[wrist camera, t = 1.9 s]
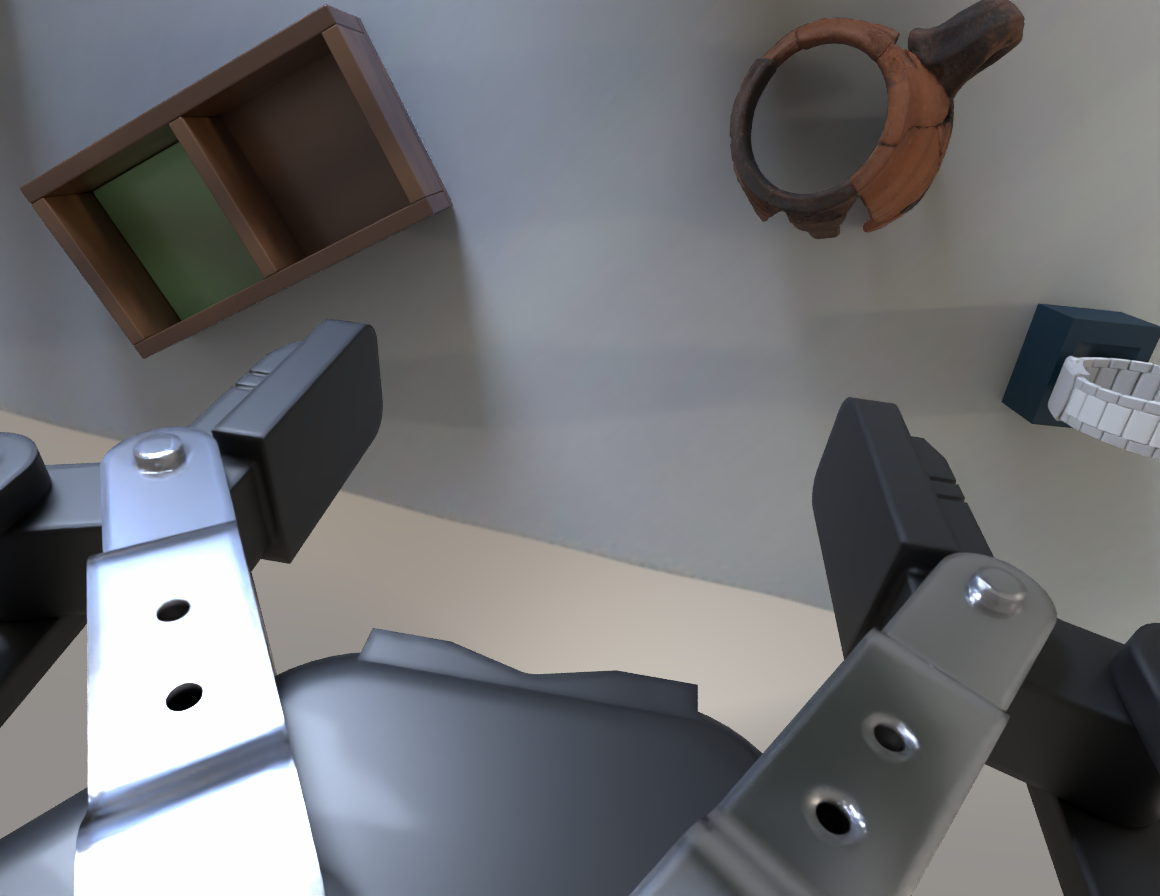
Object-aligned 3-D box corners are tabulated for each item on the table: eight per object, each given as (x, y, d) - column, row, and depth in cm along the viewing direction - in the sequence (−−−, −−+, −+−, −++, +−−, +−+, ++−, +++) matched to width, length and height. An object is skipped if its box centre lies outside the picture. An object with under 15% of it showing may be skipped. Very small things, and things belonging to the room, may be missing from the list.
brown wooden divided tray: (79, 181, 36) (17, 188, 33) (359, 17, 32) (325, 3, 29) (187, 337, 40) (142, 359, 36) (453, 204, 36) (434, 213, 32)
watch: (1114, 414, 39) (1287, 514, 29) (969, 398, 39) (1092, 493, 29) (1160, 314, 36) (1365, 385, 26) (1005, 298, 36) (1151, 363, 26)
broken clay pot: (832, 280, 37) (788, 281, 30) (732, 140, 38) (668, 111, 31) (1072, 102, 30) (1084, 53, 23) (942, -60, 31) (917, -151, 25)
